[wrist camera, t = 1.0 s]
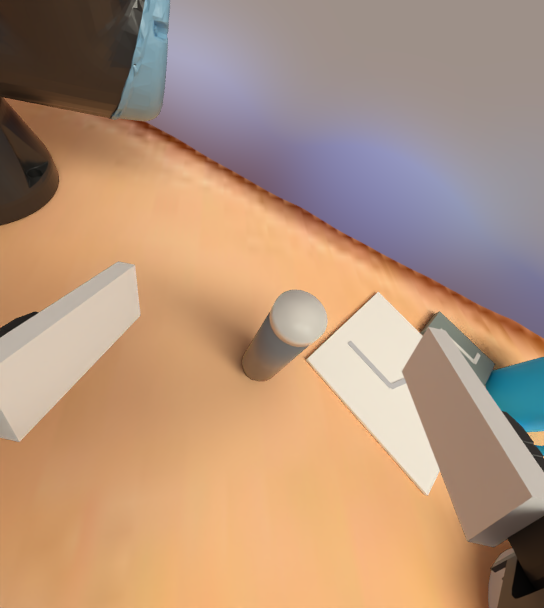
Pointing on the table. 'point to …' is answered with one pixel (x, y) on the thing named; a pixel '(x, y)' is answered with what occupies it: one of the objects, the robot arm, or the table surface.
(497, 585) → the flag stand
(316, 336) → the marker
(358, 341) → the paper
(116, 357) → the table surface
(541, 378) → the mug
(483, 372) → the dark grey flat block
